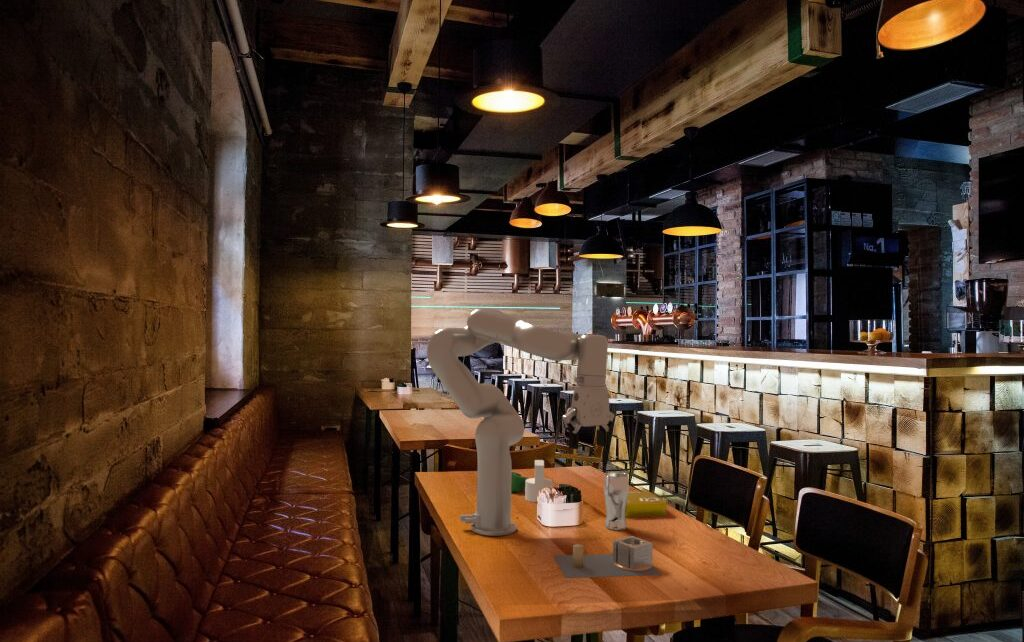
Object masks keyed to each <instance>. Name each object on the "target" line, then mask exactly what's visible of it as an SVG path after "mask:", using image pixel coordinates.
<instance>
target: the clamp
mask: <svg viewBox="0 0 1024 642" xmlns="http://www.w3.org/2000/svg"><path fill="white" fill-rule="evenodd" d="M526 479H529V478H528V477H525V476H522V474H520V473H519V472H514V471H512V476H511V493H514V492H517V493H518V492H519V491H523V490H524V491H525V481H526Z"/></svg>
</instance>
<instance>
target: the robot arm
mask: <svg viewBox="0 0 1024 642" xmlns="http://www.w3.org/2000/svg"><path fill="white" fill-rule="evenodd" d="M608 342H609V341H608V338H607V336H606V335H601V334H591V333H590V334H586V333H585V334H581V333H576V332H571V331H555V330H552V329H547V328H545V327H544V328H543V327H540V326H537V325H534V324H531V323H529V322H528V321H527V320H526V318H523V317H520V316H519V317H518V316H516V315H512V314H507V313H503V312H502V311H501V310H500V309H494V308H486V307H485V308H484V307H483V308H482V307H481V308H476V309H474V310H473V311H471V312H470V313H469V315H468V317H467V319H466V326H464V327H444V328H440V329H438V330H436V331H435V332H433V334H432V335H430V338H429V340H428V343H427V347H426V356H427V361H428V363H429V366H430V368H431V370H432V371H433V373H434V374H435V376H436V377H437V378H438V380H439V381H440V382H441V384H442V385H443V387H444V388H445V390H446V391H447V392H448V394H449V395H450V397H451V398H452V400H453V402H454V403H455V404H456V405H457V407H458V409H460V411H461V413H462V414H463V415H464V416H465V417H467V418H468V419H479V418H482V417H483V419H482V420H481V421H480V422H479V423H478V425H476V428H475V434H474V439H475V447H476V455H477V471H476V472H477V484H476V486H477V487H476V490H477V491H476V494H477V495H476V510H474V513H471V514H460V515H459V521H460V522H462V523H464V524H470V529H471V530H470V531H472V532H473V533H476V534H477V535H481V536H492V537H494V536H495V537H497V536H498V537H499V536H500V537H501V536H507V535H510V534H513V533H515V532H516V530H517V524H516V523H515V522H513V521H512V520H511V519H512V515H511V514H512V492H511V476H512V472H513V471H512V470H513V469H512V464H513V463H512V458H511V453H510V452H511V451H510V447H511V446H513V445H515V444H517V443H519V442H520V441H521V440H522V439H523V437H524V434H525V423H524V422H523V419H522V417H521V416H520V415H519V413H518V412H517V410H516V409H515V407H514V406H513V405H512V403H511V402H510V400H508V398H507V397H506V395H505V394H504V393H503V391H502V390H501V389H500V388H498V387H497V386H496V385H495V384H492V383H487V382H485V383H480V382H479V381H478V380H477V379H476V377H475V376H474V375H473V373H472V372H471V370H470V369H469V368H468V367H467V366H466V364H464V363H463V362H462V361H461V360H460V359H459V358H458V357H467V356H471V355H474V354H475V353H477V352H479V351H480V350H482V349H484V348H485V347H487V346H488V345H490V344H492V343H497V344H500V345H503V346H506V347H510V348H513V349H516V350H517V351H521V352H524V353H527V354H530V355H532V356H536V357H540V358H542V359H547V360H550V361H556V362H560V361H561V362H562V361H573V360H577V369H576V370H577V371H576V373H577V374H576V377H574V383H576V386H574V389H573V393H572V397H571V403H570V404H571V405H570V410H569V411H567V413H565V414H563V415H562V417H561V418H562V421H563V424H564V427H565V429H566V432H568V444H567V445H568V448H569V449H574V450H578V449H579V441H580V440H579V439H580V434H579V433H578V432H579V430H580V429H581V427H597V428H598V429H597V430H596V439H595V445H597V446H600V447H602V448H603V447H606V446H607V436H608V435H607V434H608V433H607V432H609V431H610V427H611V426H612V424H613V420H614V418H615V413H614V412H612V411H610V398H609V397H610V396H609V390H608V387H606V381H607V380H606V379H607V362H608V361H607V360H608V348H609V347H608V345H609V343H608Z"/></svg>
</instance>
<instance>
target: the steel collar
mask: <svg viewBox="0 0 1024 642" xmlns="http://www.w3.org/2000/svg"><path fill="white" fill-rule="evenodd" d="M629 543H635V544H638V545H636V546H632V545H629ZM653 545H654V544H653V542H651V541H647V540H646V539H642V538H640V537H636V536H634V535H628V536H626V537H625V536H624V537H622V538H618V539H614V540H612V554H613V562H614V563H618V564H619V565H622V566H624V567H627V568H630V569H631V570H636V569H639V568H643V567H646V566H649V565H653V548H654V547H653Z"/></svg>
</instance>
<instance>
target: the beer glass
mask: <svg viewBox="0 0 1024 642" xmlns="http://www.w3.org/2000/svg"><path fill="white" fill-rule="evenodd" d="M603 484H604V485H603V486H604V487H603V495H604V502H605V509H606V511H605V512H606V517H605V521H604V522H605V523H604V527H605V529H608V530H610V531H611V530H612V531H625V530H626V529H627V521H626V517H625V512H626V507H627V501H628V495H629V492H630V490H629V489H630V487H629V486H630V485H629V474H628V473H625V472H621V471H619V472H618V471H610V472H605V473H604V483H603Z"/></svg>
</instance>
